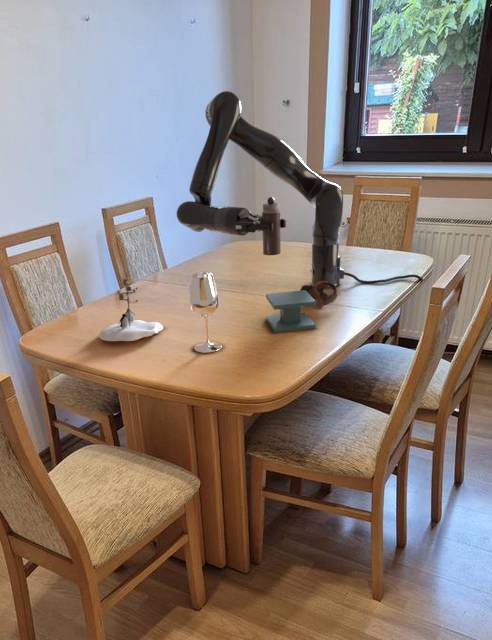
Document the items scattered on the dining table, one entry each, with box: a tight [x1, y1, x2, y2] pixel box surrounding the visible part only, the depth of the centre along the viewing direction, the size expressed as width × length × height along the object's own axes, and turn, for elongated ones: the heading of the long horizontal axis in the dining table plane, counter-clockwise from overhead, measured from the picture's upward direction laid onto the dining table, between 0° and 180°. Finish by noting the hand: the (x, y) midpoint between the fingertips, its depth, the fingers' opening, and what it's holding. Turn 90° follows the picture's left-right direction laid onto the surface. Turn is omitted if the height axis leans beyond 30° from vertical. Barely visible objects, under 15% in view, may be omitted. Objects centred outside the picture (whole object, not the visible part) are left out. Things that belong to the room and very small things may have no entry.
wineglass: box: [188, 271, 222, 354], centre depth 155 cm, size 8×8×20 cm
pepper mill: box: [261, 196, 282, 256], centre depth 161 cm, size 5×5×15 cm
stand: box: [265, 290, 317, 334], centre depth 170 cm, size 12×12×8 cm
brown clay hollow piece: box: [299, 281, 338, 309], centre depth 185 cm, size 12×10×8 cm
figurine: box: [98, 277, 164, 342], centre depth 169 cm, size 20×18×16 cm
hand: (278, 225), depth 159 cm, fingers closed on pepper mill, 5 cm apart
